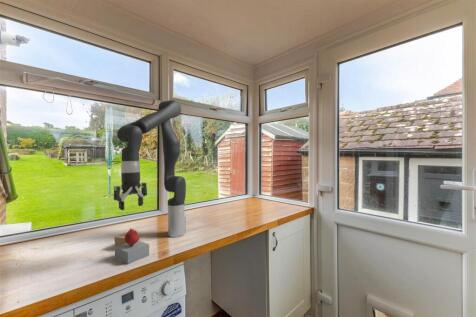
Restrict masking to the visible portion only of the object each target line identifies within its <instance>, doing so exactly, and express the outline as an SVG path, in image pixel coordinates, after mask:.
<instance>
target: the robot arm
mask: <svg viewBox="0 0 476 317" xmlns="http://www.w3.org/2000/svg"><path fill="white" fill-rule="evenodd" d="M181 113H182V105H181V104H180V103H179V102H178V100H164V101H161V102H159V104H158V110H157V111H155V112H152V113H151V112H150V113H148V114H146V115H144V116H142V117H140V118H139V119H137V120H135V121H133V122H129V123H127V124H125V125H123V126H121V127H120V128H119V129H118V131H117V132H116V135H117V138H118V140H119V141H120V142H123V143H127V145H126V147H124V148H122V149H121V165H120V177H121V178H120V180H121V185H120V186H119V185H114V186H113V200H114V201H117V202H118V209H119V210H121V211H124V210H125V199H126V198H127V197H128V196H130V195H136V196H137V205H138V206H139V207H142V206H143V204H144V197H147V196H148V188H147V187H148V186H147V183H146V182H141V164H140V149H141V146H142V141H143V136H144V135H145V134H147V133H149V132H150V131H153V129H155V128H156V127H158V126H159V125H160V128H161V139H162V140H161V142H162V152H163V154H162V155H163V167H164V168H163V170H164V171H163V172H164V173H163V186H164V189H165V190H166V191H167V192H168V193H173V197H171V198H168V200H167V236H168V237H170V238H179V237H183V236H184V235H185V234H186V233H187V217H186V216H185V200H186V196H187V195H186V193H187V192H186V190H187V184H186V183H187V182H186V179H185V177H183V176H179V175H176V174H175V166H176V164H177V162H178V160H179V158H180V154H181V145H180V140H179V137H178V136H177V134H176V132H175V131H174V129H173V127H172V122H171V120H172V119H174V118H177V117H179V116H180V115H181ZM140 188H141V190H140Z"/></svg>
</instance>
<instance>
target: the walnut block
mask: <svg viewBox="0 0 476 317" xmlns="http://www.w3.org/2000/svg"><path fill="white" fill-rule="evenodd" d="M127 232H128V231H126V232H123V233H120V234H118V235H115V236H114V248H115V247H117V246H120V245H123V244H125V243H126V242H125V235H126V233H127Z"/></svg>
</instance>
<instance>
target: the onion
mask: <svg viewBox="0 0 476 317" xmlns="http://www.w3.org/2000/svg"><path fill="white" fill-rule="evenodd" d="M126 232H127V233H126V235H125V242H126V243H127V244H129V245H130V246H133V245H134V244H135V243H136V242H137V241H140V234H139V232H138V231H137V230H135V229H134V228H132V227H129V230H128V231H126Z"/></svg>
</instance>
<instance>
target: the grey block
mask: <svg viewBox="0 0 476 317" xmlns="http://www.w3.org/2000/svg"><path fill="white" fill-rule="evenodd" d="M148 256H150V244H149V243H147V242H143V241H141V240H138V241H137V242H136V243H135V244H134V245H133V246H130V245H129V244H127V243H125V244H123V245H120V246H117V247H115V246H114V259H115V260H116V261H120V262H121V263H124V264H126V265H130V264H132V263H134V262H137V261H139V260H141V259H143V258H146V257H148Z"/></svg>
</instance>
